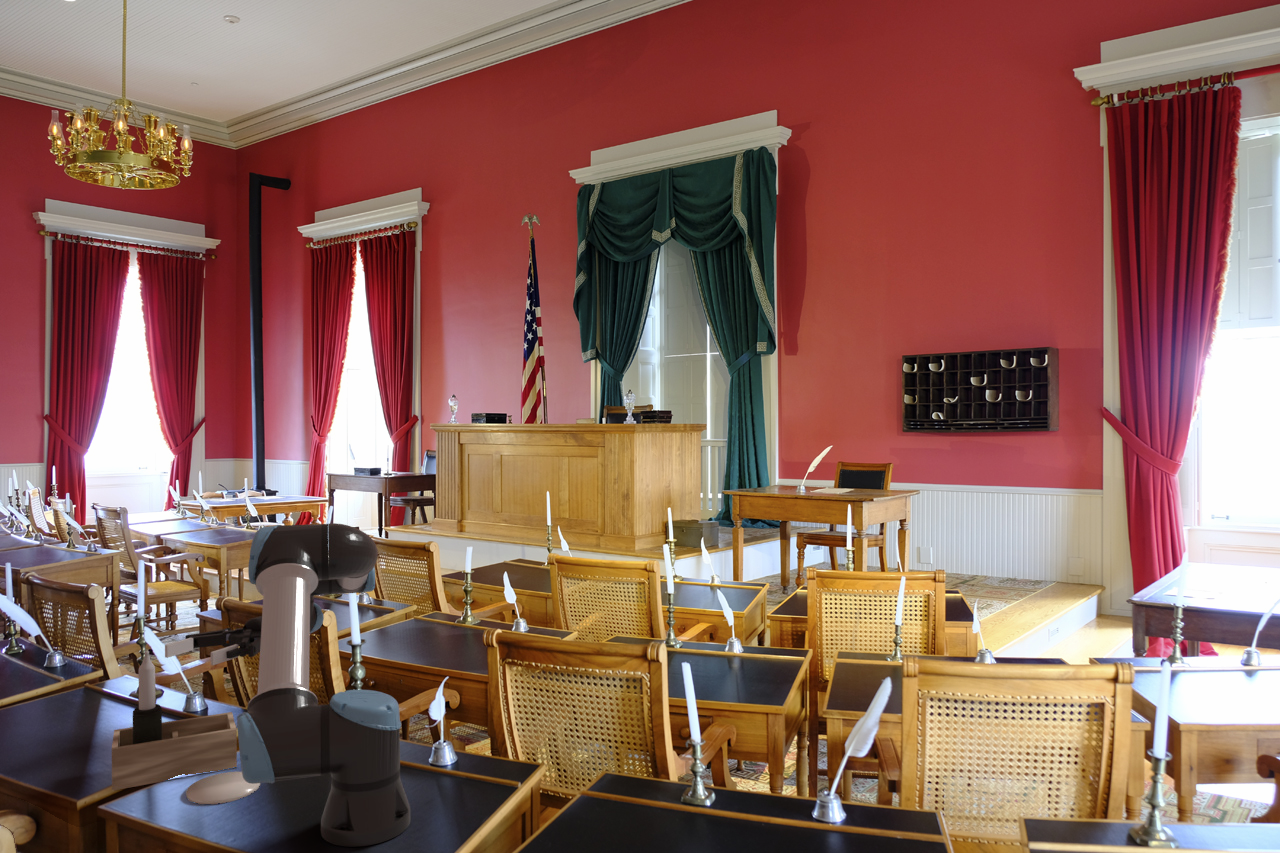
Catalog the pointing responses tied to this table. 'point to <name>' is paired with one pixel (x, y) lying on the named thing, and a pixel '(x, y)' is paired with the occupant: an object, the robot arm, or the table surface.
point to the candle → (147, 706)
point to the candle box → (175, 751)
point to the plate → (220, 788)
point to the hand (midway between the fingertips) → (188, 655)
